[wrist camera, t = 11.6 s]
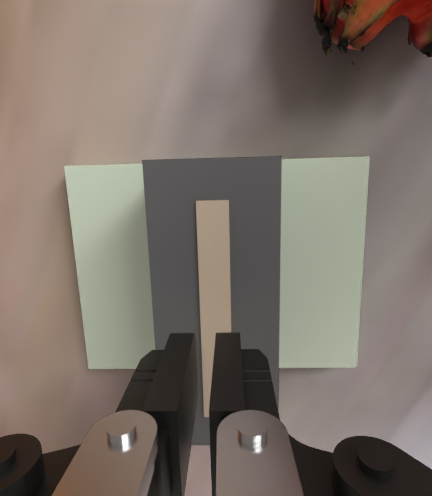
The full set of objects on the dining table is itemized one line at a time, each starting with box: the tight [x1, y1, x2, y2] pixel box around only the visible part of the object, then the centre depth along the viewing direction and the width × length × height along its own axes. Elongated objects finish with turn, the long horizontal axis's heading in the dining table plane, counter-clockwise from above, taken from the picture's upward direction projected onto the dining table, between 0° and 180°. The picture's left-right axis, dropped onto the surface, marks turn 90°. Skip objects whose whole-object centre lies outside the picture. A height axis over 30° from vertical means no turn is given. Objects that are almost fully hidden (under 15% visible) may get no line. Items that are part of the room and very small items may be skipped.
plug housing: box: [142, 156, 282, 445], centre depth 17 cm, size 5×12×6 cm, turn 1°
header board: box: [64, 156, 370, 369], centre depth 19 cm, size 16×12×4 cm
